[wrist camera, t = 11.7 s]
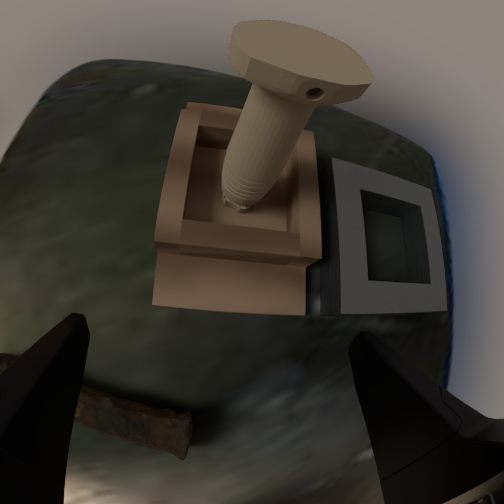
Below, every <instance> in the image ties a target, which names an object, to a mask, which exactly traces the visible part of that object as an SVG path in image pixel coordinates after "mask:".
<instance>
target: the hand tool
mask: <svg viewBox="0 0 504 504" xmlns="http://www.w3.org/2000/svg"><path fill="white" fill-rule="evenodd" d="M17 358H18V356H13V355H9V354H3V353H0V374H1V373H2V372H3V371H4V370H5V369H6V368H7V367H8V366H9V365H11V364H12V363H13V362H14V361H15V360H16V359H17ZM74 422H75V423H77V424H80V425H82V426H84V427H87V428H89V429H92V430H94V431H97V432H99V433H102V434H105V435H108V436H111V437H114V438H117V439H120V440H123V441H126V442H129V443H133V444H137V445H141V446H145V447H148V448H152V449H157V450H160V451H164V452H167V453H171V454H174V455H175V456H176V457H177V458H179V459H180V460H184V459H185V458H186V455H187V452H188V449H189V445H190V442H191V439H192V425H193V421H192V417H191V414H190V412H188V411H187V412H183V413H181V414H177V413H175V412H174V411H172V410H169V409H166V408H165V409H162V410H160V409H156V408H153V407H149V406H145V405H143V404H141V403H137V402H133V401H131V400H126V399H124V400H123V399H120V398H116V397H113V396H111V395H109V394H107V393H105V392H100V391H97V390H94V389H91V388H89V387H86V386H83V385H82V387H81V391H80V395H79V399H78V403H77V408H76V413H75V417H74Z"/></svg>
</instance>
